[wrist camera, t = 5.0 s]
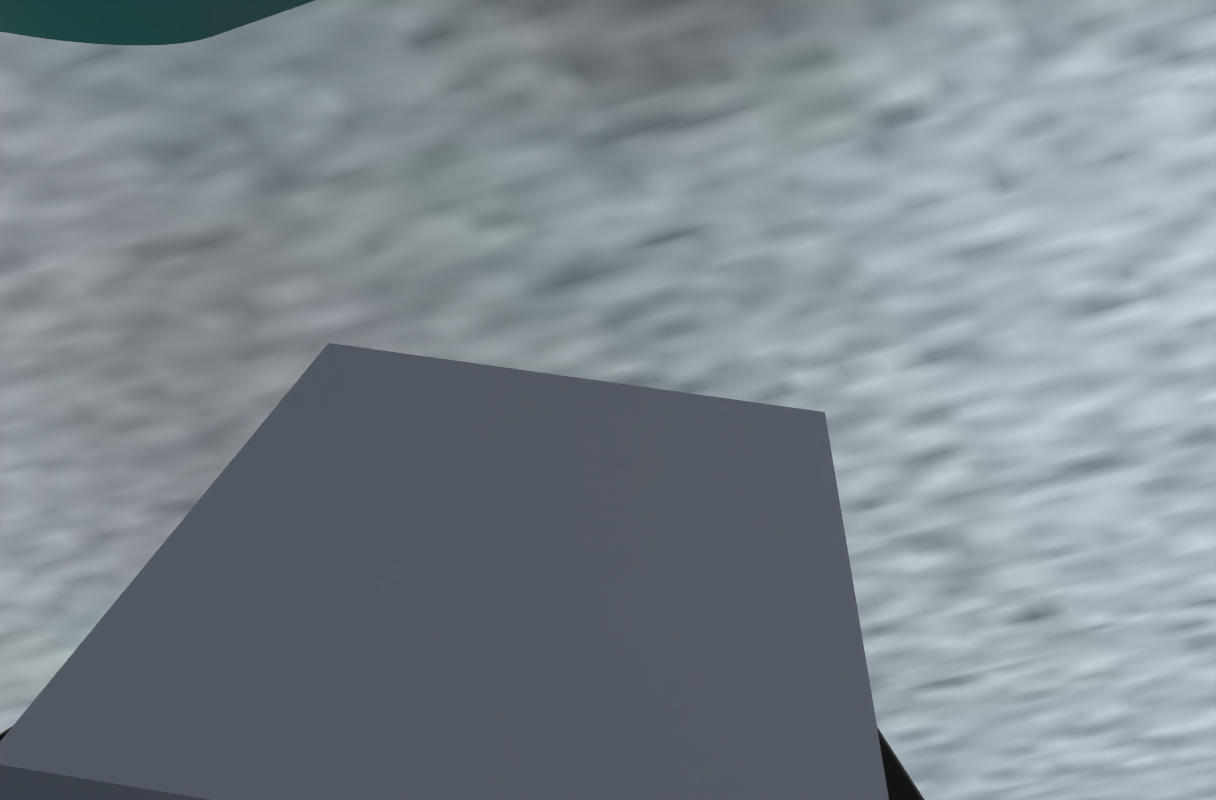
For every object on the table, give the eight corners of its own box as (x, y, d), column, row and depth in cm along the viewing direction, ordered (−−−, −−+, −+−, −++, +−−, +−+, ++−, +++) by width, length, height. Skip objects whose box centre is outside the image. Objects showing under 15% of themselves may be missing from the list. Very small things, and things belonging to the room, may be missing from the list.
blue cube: (825, 412, 9) (908, 915, 5) (740, 745, 12) (743, 1265, 7) (328, 342, 9) (-17, 762, 5) (353, 684, 12) (141, 1151, 8)
